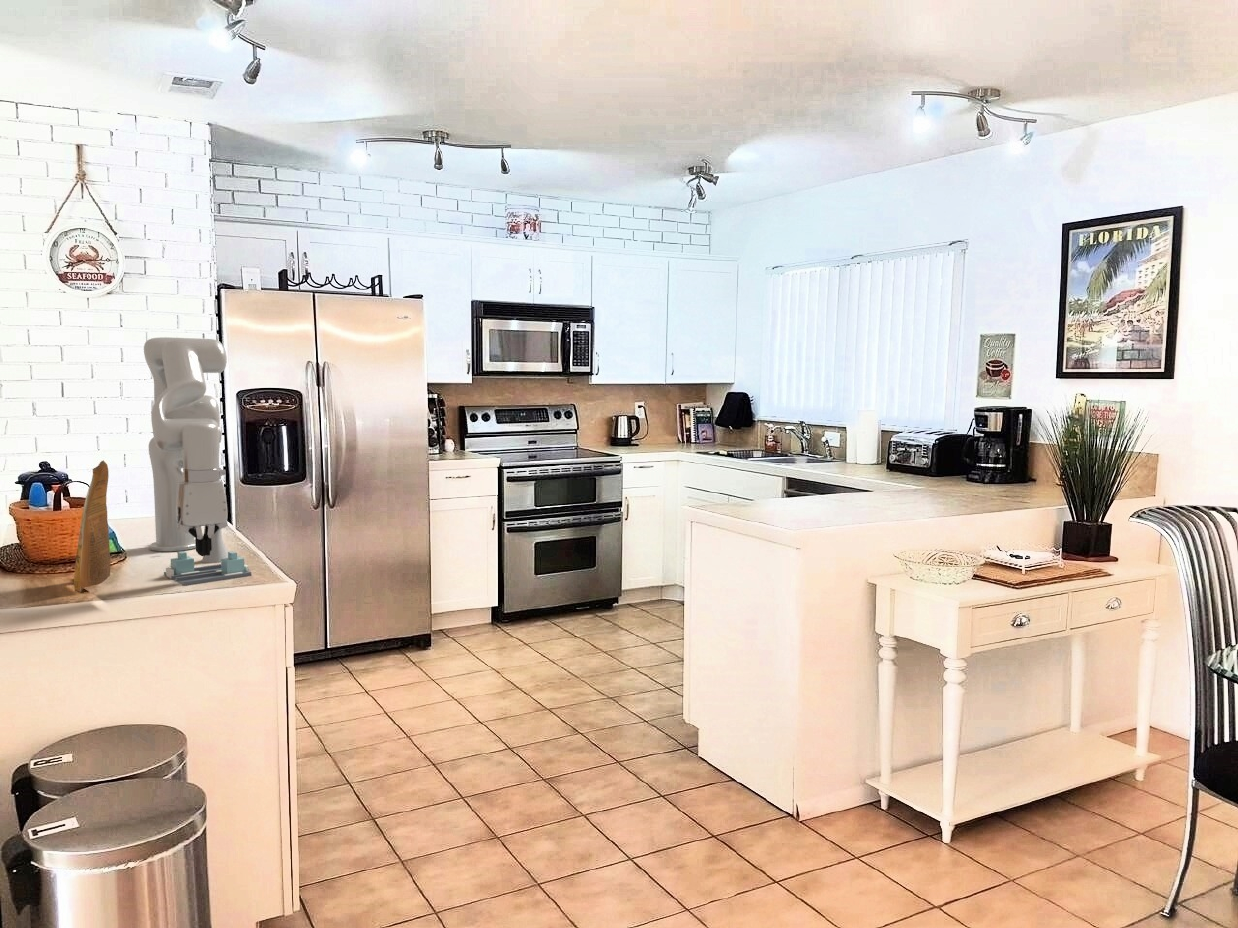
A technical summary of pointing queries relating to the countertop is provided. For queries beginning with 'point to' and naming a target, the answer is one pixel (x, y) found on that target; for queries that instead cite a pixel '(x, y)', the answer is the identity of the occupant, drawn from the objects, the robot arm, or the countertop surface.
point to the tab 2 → (232, 564)
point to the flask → (216, 549)
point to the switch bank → (204, 575)
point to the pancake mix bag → (93, 534)
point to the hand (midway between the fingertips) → (203, 554)
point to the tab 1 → (182, 563)
